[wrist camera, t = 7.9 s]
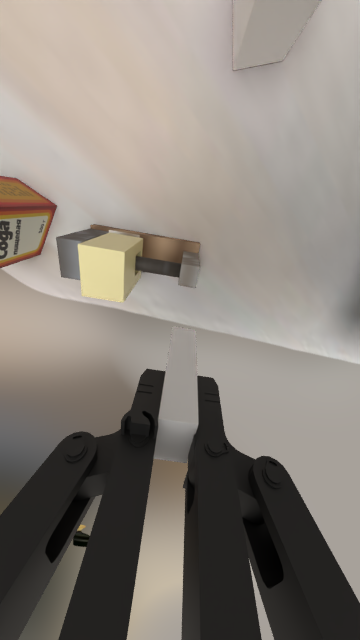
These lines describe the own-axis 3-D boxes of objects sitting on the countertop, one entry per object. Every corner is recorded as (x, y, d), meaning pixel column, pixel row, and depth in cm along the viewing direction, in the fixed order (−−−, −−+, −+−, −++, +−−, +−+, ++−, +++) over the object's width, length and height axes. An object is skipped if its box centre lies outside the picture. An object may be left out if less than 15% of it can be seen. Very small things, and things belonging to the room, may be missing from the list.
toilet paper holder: (199, 242, 36) (203, 258, 26) (193, 276, 39) (193, 302, 29) (94, 224, 35) (55, 232, 25) (95, 260, 38) (61, 280, 28)
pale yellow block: (143, 238, 31) (124, 252, 22) (140, 277, 34) (123, 302, 25) (109, 232, 31) (77, 244, 22) (110, 271, 34) (81, 295, 25)
